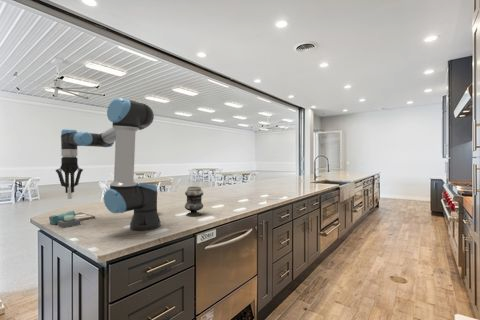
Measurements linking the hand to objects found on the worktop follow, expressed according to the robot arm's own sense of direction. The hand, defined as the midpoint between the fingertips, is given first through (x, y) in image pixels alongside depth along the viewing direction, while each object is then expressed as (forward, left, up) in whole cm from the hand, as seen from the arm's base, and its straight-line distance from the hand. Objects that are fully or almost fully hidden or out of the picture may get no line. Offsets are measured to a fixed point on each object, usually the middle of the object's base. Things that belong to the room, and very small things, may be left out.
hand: (69, 198), depth 138 cm
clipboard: (+10, -6, -14) cm, 18 cm away
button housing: (-5, +2, -14) cm, 15 cm away
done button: (-5, +2, -12) cm, 13 cm away
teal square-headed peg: (+5, -4, -10) cm, 12 cm away
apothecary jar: (-43, -55, -14) cm, 71 cm away
